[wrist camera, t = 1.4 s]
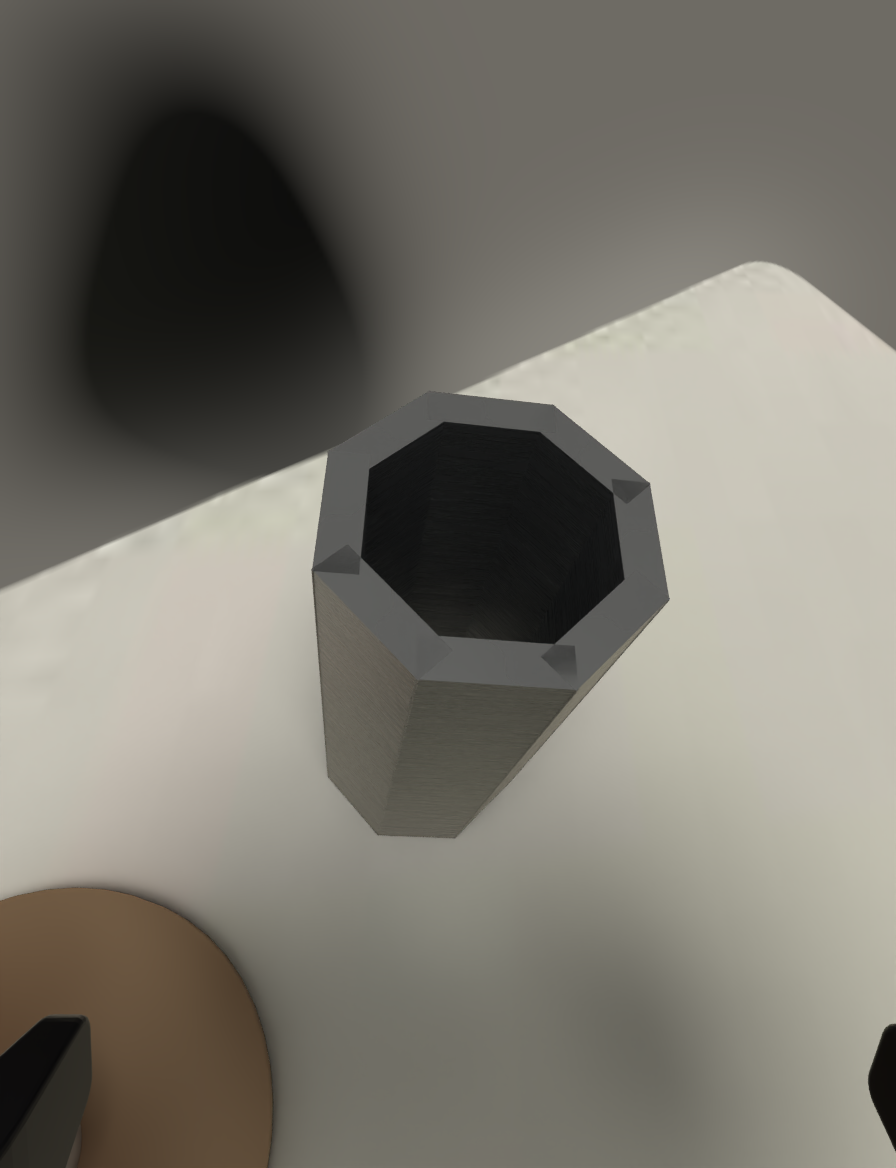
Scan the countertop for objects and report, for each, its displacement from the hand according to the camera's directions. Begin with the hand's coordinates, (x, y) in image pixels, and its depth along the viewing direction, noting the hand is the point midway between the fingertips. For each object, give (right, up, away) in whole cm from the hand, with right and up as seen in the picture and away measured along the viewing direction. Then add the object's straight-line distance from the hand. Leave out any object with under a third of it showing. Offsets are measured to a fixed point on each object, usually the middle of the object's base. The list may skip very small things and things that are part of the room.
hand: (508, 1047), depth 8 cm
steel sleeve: (-2, 0, +14) cm, 14 cm away
